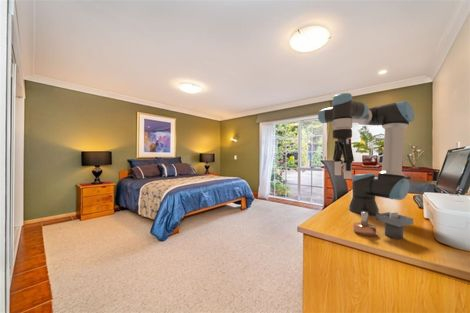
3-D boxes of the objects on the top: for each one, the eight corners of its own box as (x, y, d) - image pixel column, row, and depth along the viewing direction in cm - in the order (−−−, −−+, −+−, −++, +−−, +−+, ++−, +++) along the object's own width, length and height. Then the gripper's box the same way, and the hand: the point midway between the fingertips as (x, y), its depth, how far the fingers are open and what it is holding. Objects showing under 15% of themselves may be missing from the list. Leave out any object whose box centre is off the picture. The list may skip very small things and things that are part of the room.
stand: (390, 232, 85) (390, 209, 85) (406, 237, 80) (406, 213, 80) (381, 234, 83) (381, 211, 83) (397, 239, 78) (397, 215, 78)
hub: (361, 227, 91) (361, 208, 91) (380, 234, 83) (380, 213, 83) (349, 230, 88) (349, 210, 88) (367, 237, 80) (367, 216, 80)
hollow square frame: (388, 217, 87) (388, 212, 87) (413, 224, 79) (413, 218, 79) (375, 219, 84) (375, 214, 84) (399, 227, 76) (399, 220, 76)
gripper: (326, 132, 99) (326, 173, 99) (341, 125, 74) (341, 180, 75) (342, 132, 97) (342, 174, 97) (363, 124, 73) (363, 180, 73)
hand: (342, 176), depth 86 cm, fingers open, 13 cm apart
